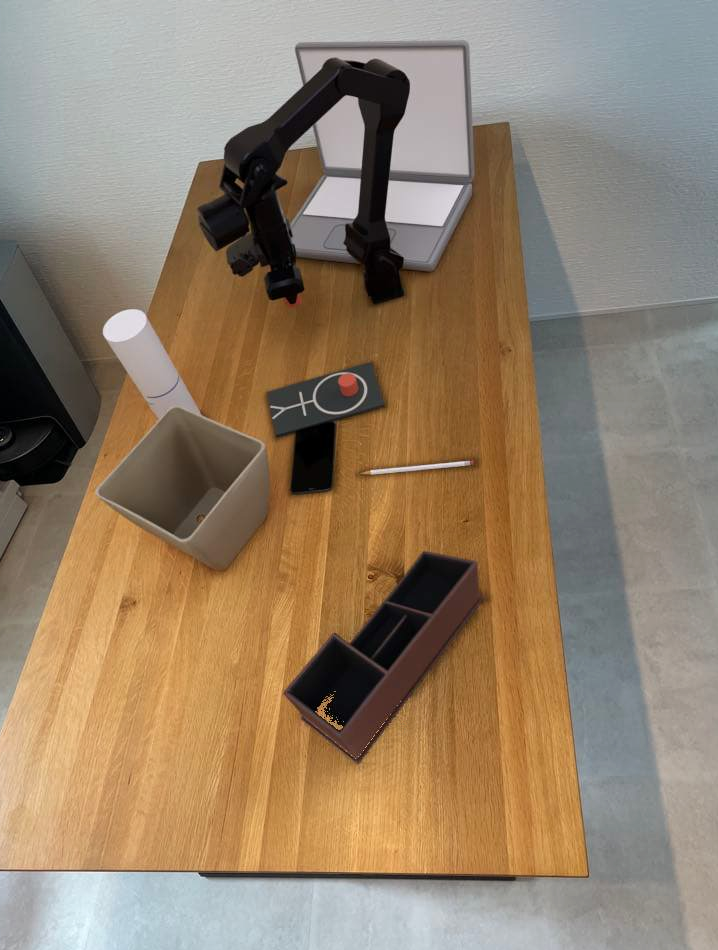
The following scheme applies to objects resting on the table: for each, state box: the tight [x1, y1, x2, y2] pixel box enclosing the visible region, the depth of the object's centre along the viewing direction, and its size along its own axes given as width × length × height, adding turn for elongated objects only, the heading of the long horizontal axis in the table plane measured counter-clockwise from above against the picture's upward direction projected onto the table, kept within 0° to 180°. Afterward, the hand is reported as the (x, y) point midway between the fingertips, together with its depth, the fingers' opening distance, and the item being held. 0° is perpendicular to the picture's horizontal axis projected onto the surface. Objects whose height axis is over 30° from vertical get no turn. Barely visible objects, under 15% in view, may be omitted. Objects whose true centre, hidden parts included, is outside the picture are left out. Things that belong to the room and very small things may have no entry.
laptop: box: [290, 39, 476, 273], centre depth 135 cm, size 36×28×29 cm
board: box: [266, 361, 386, 439], centre depth 123 cm, size 20×11×1 cm, turn 101°
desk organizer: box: [283, 550, 486, 766], centre depth 91 cm, size 10×29×11 cm, turn 141°
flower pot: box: [94, 405, 271, 572], centre depth 106 cm, size 19×19×17 cm
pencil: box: [360, 459, 475, 476], centre depth 112 cm, size 1×19×1 cm, turn 88°
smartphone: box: [290, 421, 337, 496], centre depth 117 cm, size 7×1×15 cm
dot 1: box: [282, 293, 302, 308], centre depth 124 cm, size 3×3×2 cm
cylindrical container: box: [102, 308, 202, 421], centre depth 116 cm, size 7×7×25 cm
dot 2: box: [338, 373, 358, 396], centre depth 121 cm, size 3×3×2 cm
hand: (291, 297), depth 124 cm, fingers closed on dot 1, 3 cm apart
